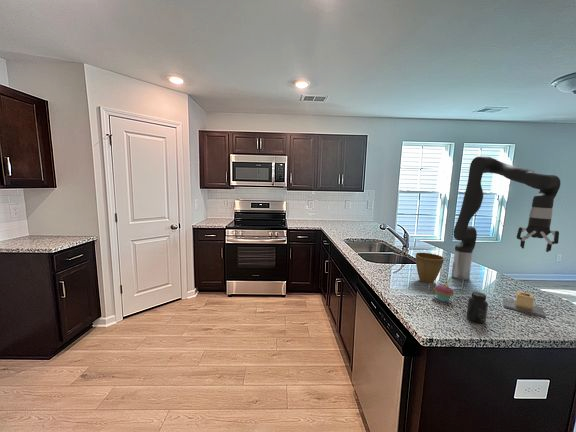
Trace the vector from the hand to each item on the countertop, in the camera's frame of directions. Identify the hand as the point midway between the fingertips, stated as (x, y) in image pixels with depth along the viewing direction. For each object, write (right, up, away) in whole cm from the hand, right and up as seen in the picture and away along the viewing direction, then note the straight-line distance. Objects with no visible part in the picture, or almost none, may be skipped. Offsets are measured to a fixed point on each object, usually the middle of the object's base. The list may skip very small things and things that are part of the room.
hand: (534, 249), depth 121 cm
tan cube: (-8, -27, -2) cm, 28 cm away
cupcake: (-41, -26, +6) cm, 49 cm away
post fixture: (-8, -28, -2) cm, 29 cm away
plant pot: (-36, -23, +29) cm, 52 cm away
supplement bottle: (-39, -29, -14) cm, 51 cm away
